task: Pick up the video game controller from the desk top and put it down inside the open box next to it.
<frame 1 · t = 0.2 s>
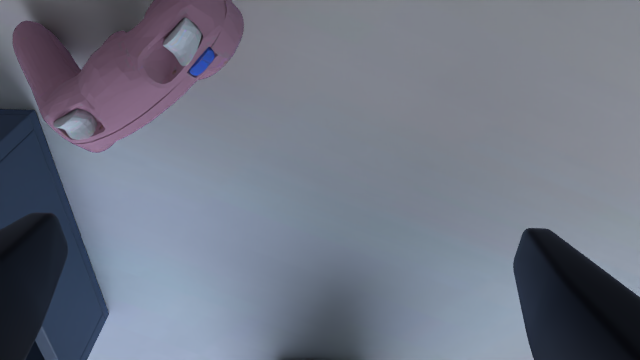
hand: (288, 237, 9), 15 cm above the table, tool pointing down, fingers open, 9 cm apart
video game controller: (145, 16, 22), on the table
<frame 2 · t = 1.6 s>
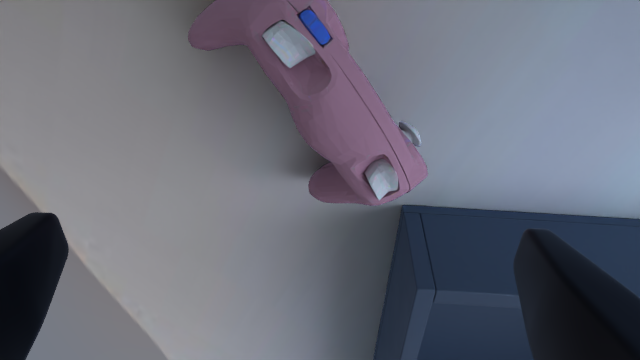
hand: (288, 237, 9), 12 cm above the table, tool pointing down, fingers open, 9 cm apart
open box: (515, 313, 29), on the table
video game controller: (314, 76, 21), on the table
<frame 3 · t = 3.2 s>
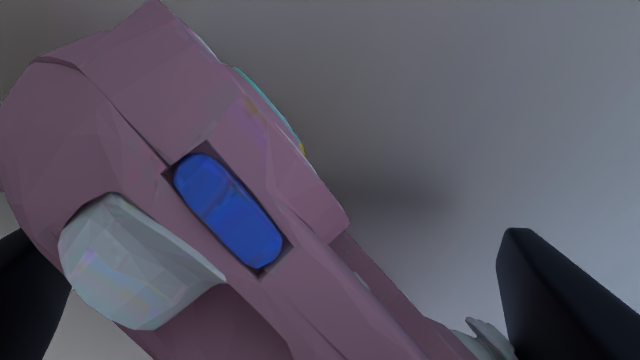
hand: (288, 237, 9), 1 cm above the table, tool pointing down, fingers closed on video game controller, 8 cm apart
video game controller: (285, 198, 11), on the table, touching gripper
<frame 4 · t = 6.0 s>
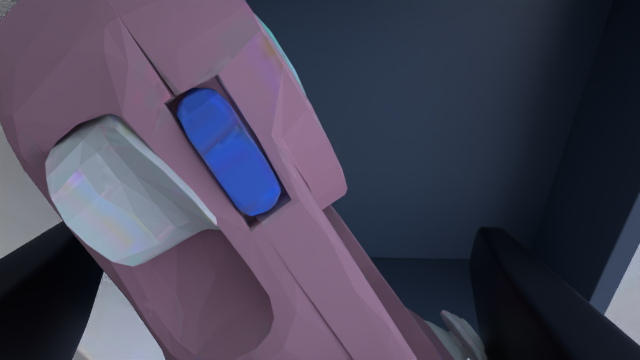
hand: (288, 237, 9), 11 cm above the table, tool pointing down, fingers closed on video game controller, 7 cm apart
open box: (391, 129, 20), on the table
video game controller: (277, 168, 10), point 9 cm above the table, touching gripper
when the fingers open (2 cm above the table, at t = 9.1 s): video game controller stays where it is, resting on open box.
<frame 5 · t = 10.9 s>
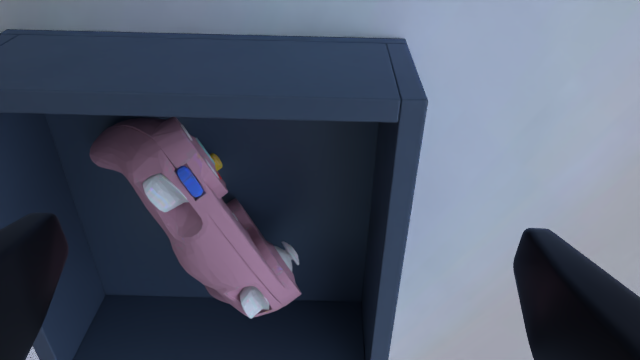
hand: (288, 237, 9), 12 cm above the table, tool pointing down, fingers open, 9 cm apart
open box: (223, 190, 23), on the table
video game controller: (214, 184, 23), resting on open box
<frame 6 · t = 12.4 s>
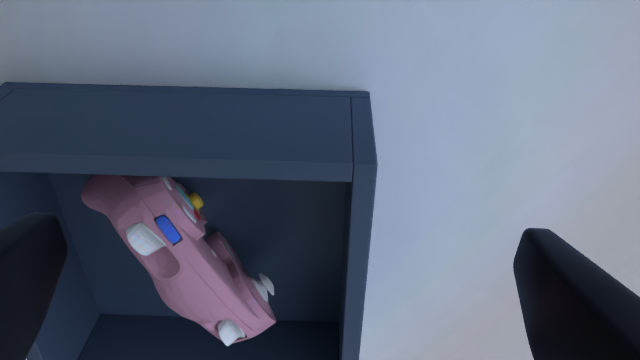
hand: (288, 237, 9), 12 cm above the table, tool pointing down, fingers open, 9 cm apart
open box: (207, 222, 25), on the table
video game controller: (197, 217, 24), resting on open box
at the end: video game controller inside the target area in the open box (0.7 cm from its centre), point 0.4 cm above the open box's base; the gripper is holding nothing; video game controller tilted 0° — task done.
